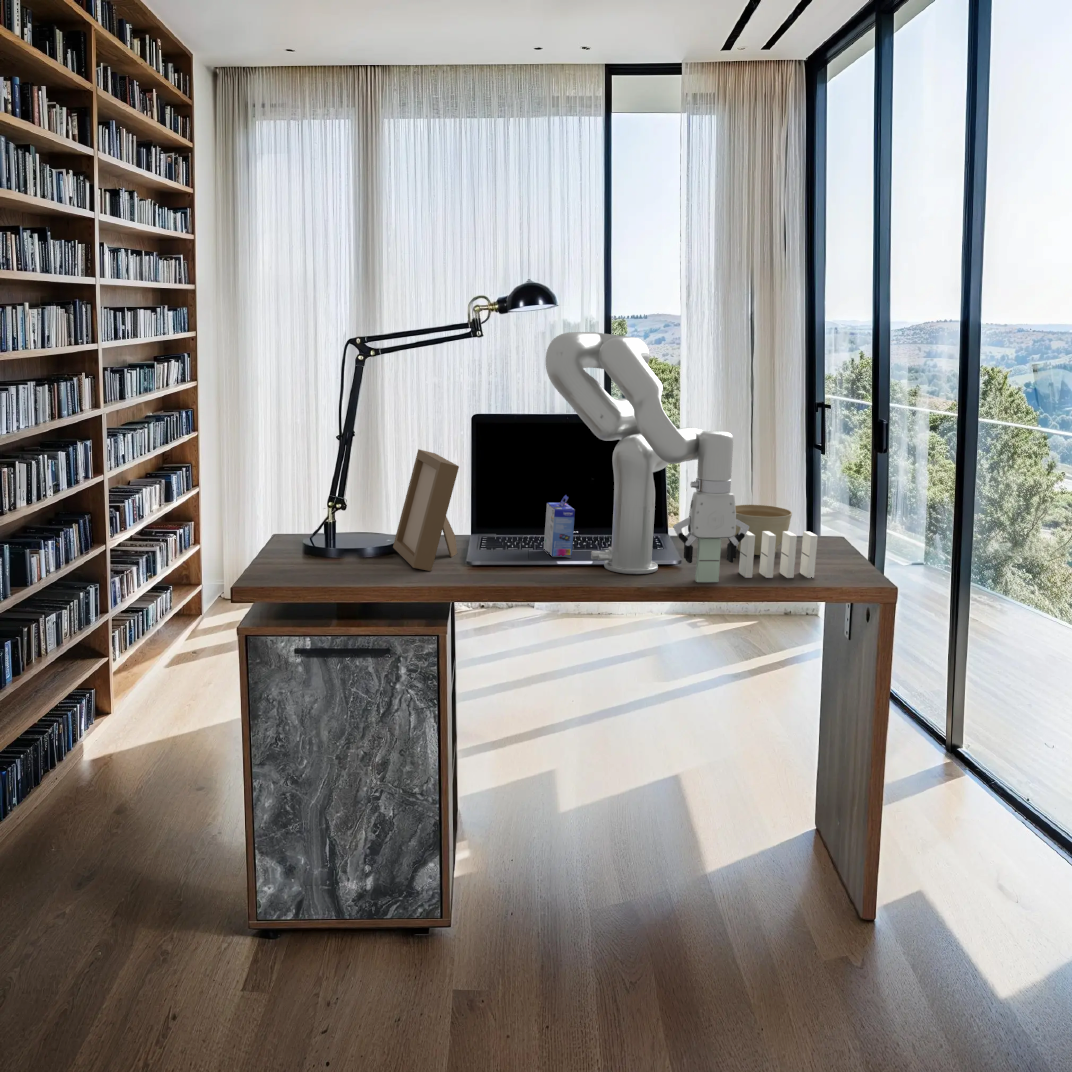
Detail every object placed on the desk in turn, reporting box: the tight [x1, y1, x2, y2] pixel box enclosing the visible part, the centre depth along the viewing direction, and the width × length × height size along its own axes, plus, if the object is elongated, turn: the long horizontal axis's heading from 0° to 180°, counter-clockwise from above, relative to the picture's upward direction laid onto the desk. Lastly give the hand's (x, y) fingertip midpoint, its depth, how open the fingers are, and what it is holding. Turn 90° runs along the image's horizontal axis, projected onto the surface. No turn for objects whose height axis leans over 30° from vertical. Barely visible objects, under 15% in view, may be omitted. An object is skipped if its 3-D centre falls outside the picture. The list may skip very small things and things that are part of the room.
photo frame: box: [392, 448, 460, 572], centre depth 267 cm, size 15×22×25 cm
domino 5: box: [799, 530, 819, 579], centre depth 266 cm, size 2×5×10 cm, turn 8°
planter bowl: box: [735, 504, 793, 556], centre depth 290 cm, size 16×16×11 cm
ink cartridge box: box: [543, 494, 576, 556], centre depth 279 cm, size 10×6×14 cm, turn 11°
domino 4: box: [779, 530, 798, 579], centre depth 266 cm, size 2×5×10 cm, turn 8°
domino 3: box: [758, 531, 776, 579], centre depth 265 cm, size 2×5×10 cm, turn 8°
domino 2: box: [738, 531, 755, 579], centre depth 264 cm, size 2×5×10 cm, turn 8°
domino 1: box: [694, 538, 722, 583], centre depth 257 cm, size 2×5×10 cm, turn 98°
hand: (709, 561), depth 257 cm, fingers open, 9 cm apart
